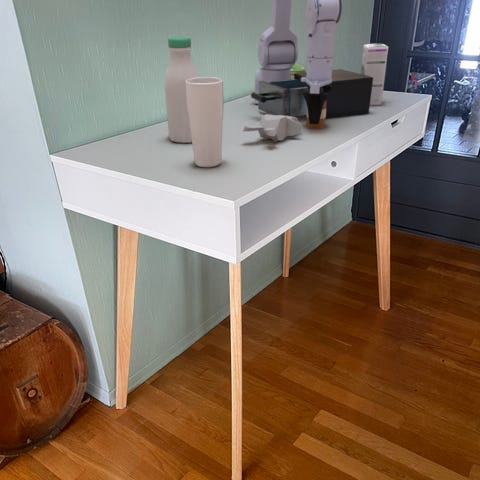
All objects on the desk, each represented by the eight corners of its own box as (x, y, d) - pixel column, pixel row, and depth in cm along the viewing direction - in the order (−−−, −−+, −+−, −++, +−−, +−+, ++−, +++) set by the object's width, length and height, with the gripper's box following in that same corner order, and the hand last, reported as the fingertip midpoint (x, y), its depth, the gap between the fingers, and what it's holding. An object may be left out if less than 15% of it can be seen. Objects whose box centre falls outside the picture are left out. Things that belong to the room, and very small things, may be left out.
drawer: (267, 121, 121) (268, 91, 117) (244, 110, 131) (244, 82, 127) (329, 114, 127) (331, 84, 123) (302, 103, 137) (304, 76, 133)
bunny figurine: (311, 115, 112) (276, 121, 102) (308, 139, 115) (274, 147, 104) (275, 110, 117) (238, 115, 106) (273, 133, 120) (237, 140, 109)
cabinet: (320, 119, 126) (323, 82, 121) (292, 107, 137) (294, 73, 132) (368, 113, 131) (373, 77, 126) (337, 102, 142) (340, 69, 137)
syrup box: (381, 105, 138) (390, 45, 130) (360, 105, 138) (367, 46, 130) (377, 101, 143) (385, 43, 135) (356, 101, 143) (363, 43, 135)
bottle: (302, 125, 121) (304, 87, 116) (316, 123, 123) (319, 85, 118) (313, 129, 118) (316, 90, 113) (328, 127, 120) (332, 88, 115)
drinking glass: (225, 158, 101) (223, 76, 92) (225, 169, 95) (223, 83, 87) (191, 159, 101) (186, 77, 92) (189, 170, 95) (183, 84, 87)
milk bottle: (198, 144, 109) (192, 39, 98) (164, 142, 111) (154, 39, 99) (207, 134, 115) (202, 35, 104) (175, 133, 117) (167, 35, 105)
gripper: (306, 52, 119) (303, 112, 126) (297, 61, 107) (294, 127, 115) (336, 52, 117) (331, 113, 125) (330, 61, 106) (325, 128, 113)
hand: (315, 120), depth 120 cm, fingers open, 6 cm apart
